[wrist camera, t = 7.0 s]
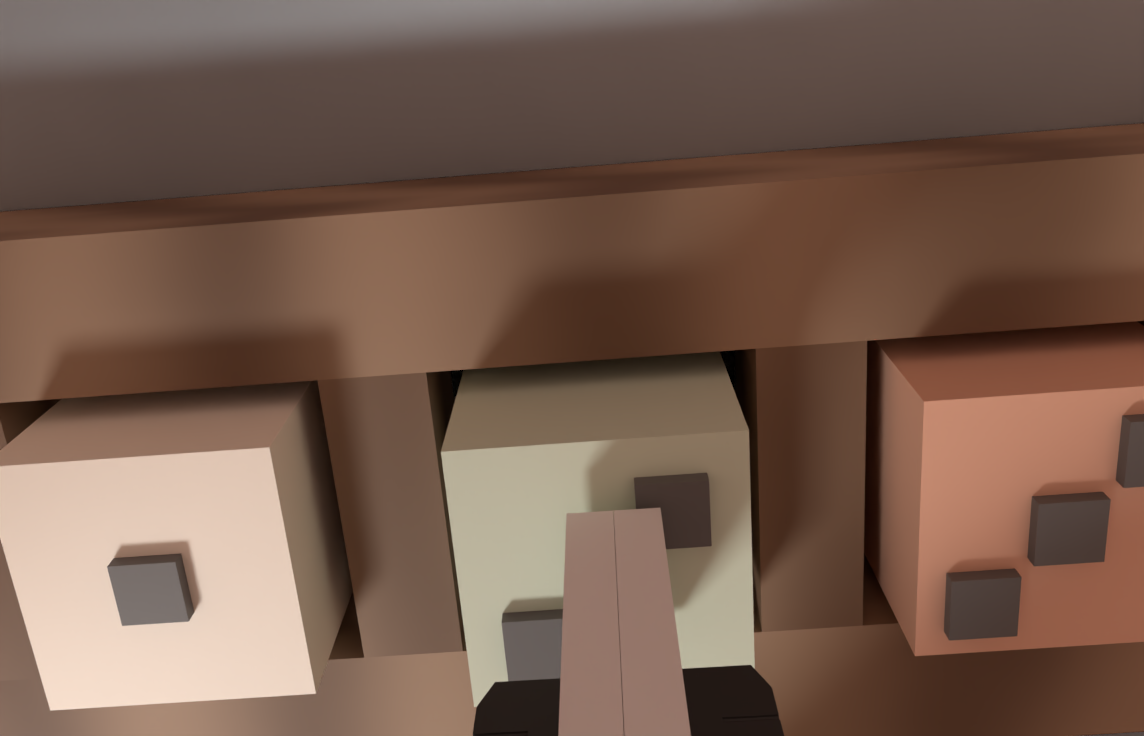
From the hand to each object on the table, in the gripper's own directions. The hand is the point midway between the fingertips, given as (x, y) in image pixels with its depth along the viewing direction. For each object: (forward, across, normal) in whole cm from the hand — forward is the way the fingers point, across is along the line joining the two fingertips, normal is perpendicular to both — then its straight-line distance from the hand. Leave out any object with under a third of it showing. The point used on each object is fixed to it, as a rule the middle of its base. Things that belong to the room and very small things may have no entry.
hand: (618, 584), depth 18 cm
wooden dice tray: (+6, 0, 0) cm, 6 cm away
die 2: (+5, 0, 0) cm, 5 cm away
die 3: (+5, +8, 0) cm, 9 cm away
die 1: (+5, -8, 0) cm, 10 cm away
